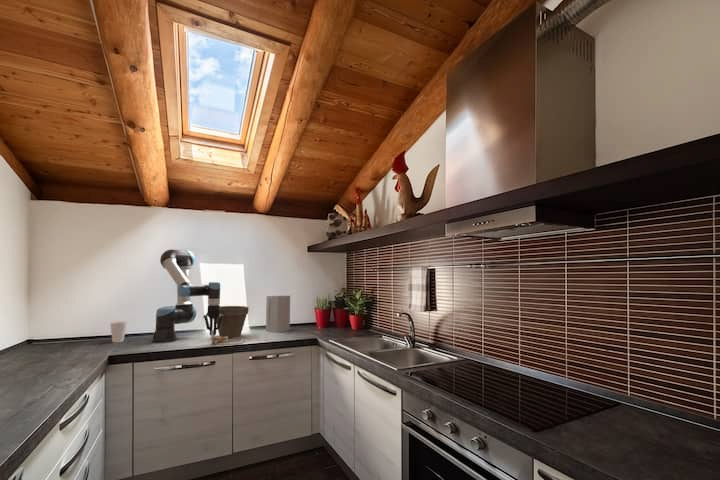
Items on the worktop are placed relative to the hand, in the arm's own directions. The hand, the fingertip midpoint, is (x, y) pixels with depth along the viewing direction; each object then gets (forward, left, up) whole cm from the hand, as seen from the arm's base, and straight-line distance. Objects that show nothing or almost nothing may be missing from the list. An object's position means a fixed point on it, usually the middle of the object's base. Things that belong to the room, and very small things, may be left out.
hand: (212, 340), depth 247 cm
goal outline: (+13, 0, -2) cm, 13 cm away
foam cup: (-67, +15, -2) cm, 69 cm away
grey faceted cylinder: (+39, +47, -2) cm, 61 cm away
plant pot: (+6, +26, -2) cm, 27 cm away
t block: (+5, 0, -2) cm, 6 cm away
